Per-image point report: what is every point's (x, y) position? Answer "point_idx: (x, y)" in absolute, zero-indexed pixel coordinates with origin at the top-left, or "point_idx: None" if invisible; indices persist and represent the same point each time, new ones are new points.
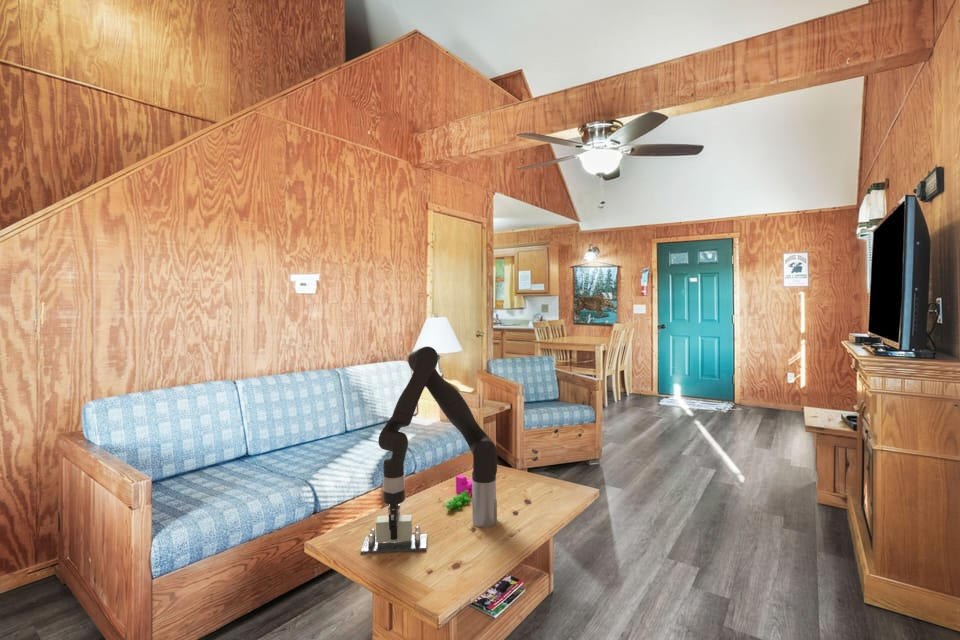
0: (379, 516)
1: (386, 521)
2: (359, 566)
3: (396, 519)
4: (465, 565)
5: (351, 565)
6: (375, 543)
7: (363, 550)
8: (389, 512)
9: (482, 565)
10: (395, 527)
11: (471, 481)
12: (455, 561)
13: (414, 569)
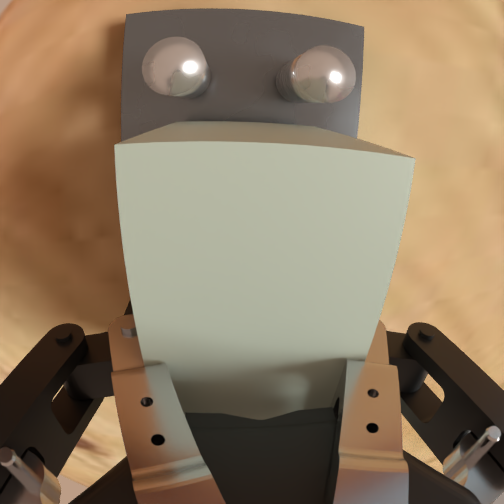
0: (393, 193)
1: (158, 330)
2: (9, 61)
3: (56, 473)
4: (85, 456)
5: (26, 11)
6: (237, 106)
7: (136, 30)
8: (142, 499)
9: (96, 476)
10: (58, 396)
11: None
12: (100, 445)
13: (15, 340)
